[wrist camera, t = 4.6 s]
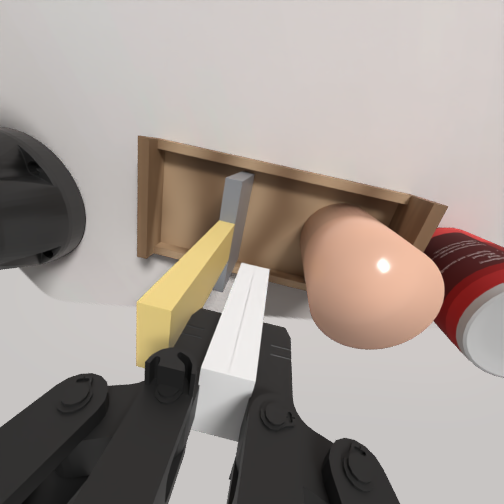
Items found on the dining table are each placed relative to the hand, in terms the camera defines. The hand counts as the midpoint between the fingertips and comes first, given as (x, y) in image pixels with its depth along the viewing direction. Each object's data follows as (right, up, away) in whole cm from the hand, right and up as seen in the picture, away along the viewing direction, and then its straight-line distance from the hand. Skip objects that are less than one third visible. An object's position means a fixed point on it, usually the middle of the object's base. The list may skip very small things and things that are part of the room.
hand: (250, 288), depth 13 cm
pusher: (-1, +6, +13) cm, 14 cm away
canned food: (+19, +1, +12) cm, 22 cm away
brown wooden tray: (+2, +5, +13) cm, 14 cm away
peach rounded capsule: (+9, +3, +12) cm, 15 cm away
